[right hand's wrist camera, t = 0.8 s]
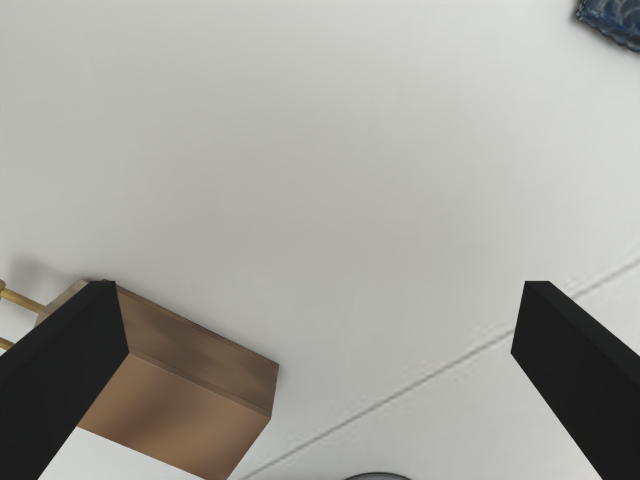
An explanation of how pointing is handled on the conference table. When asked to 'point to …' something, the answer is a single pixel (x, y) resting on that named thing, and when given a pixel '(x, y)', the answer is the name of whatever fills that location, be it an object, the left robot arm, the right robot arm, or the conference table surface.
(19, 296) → the drawer
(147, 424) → the cabinet
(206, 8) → the conference table surface
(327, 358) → the conference table surface
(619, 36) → the fish model
